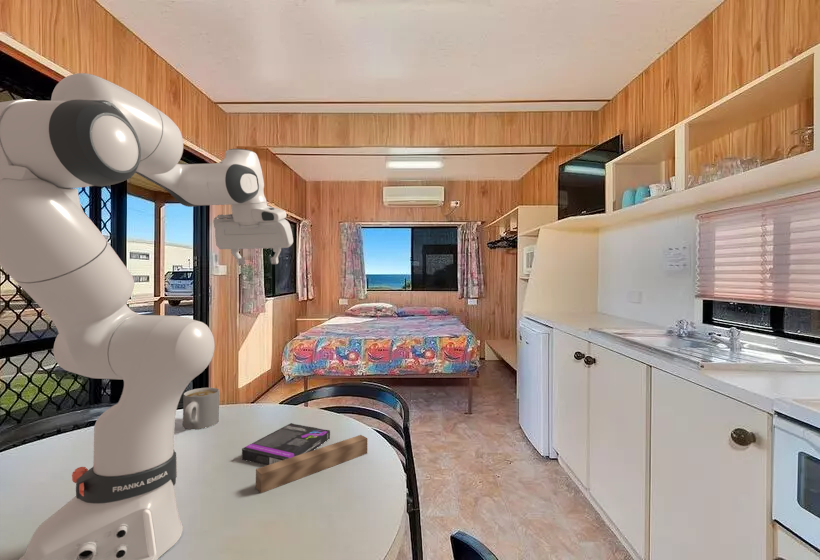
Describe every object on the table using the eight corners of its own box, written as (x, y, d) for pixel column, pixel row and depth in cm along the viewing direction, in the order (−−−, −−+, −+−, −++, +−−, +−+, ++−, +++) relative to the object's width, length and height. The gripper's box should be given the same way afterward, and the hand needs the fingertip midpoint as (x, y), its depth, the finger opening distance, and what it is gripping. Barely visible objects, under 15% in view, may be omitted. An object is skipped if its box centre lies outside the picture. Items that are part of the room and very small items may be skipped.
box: (285, 473, 89) (331, 440, 108) (285, 459, 89) (331, 428, 107) (240, 462, 94) (291, 432, 113) (241, 448, 94) (291, 420, 113)
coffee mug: (198, 417, 124) (198, 386, 124) (225, 419, 122) (226, 388, 123) (166, 432, 111) (166, 399, 111) (196, 435, 109) (196, 400, 109)
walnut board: (260, 493, 79) (261, 474, 79) (255, 487, 81) (255, 469, 82) (367, 453, 98) (367, 438, 98) (360, 449, 101) (360, 434, 101)
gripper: (205, 216, 97) (215, 267, 101) (283, 214, 96) (290, 266, 100) (218, 213, 103) (227, 261, 107) (291, 211, 102) (297, 260, 106)
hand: (258, 264), depth 103 cm, fingers open, 8 cm apart
